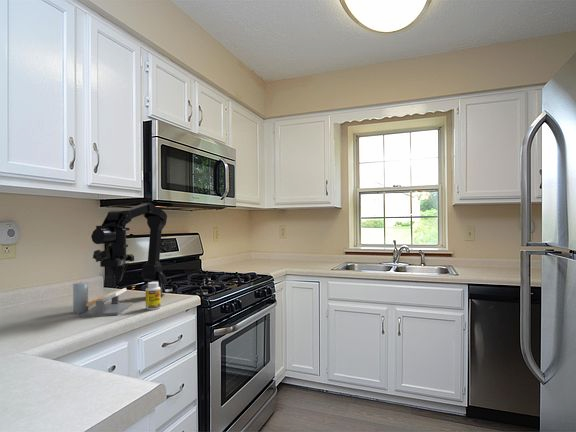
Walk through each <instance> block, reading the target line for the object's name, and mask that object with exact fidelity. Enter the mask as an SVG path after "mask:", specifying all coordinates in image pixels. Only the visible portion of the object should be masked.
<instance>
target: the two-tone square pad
mask: <svg viewBox="0 0 576 432" xmlns="http://www.w3.org/2000/svg"><path fill="white" fill-rule="evenodd" d="M125 292H127V287H124V288H121V289H118V290H115V291H112V292H110V293H107V294H103V295H101V296H98V297H97V298H95V299H92V300H91V301H88V303H86V306H87V307H88V308H89V307H90V306H93V305H96V301H97V300H104V303H106V302H108V301H111V300H112V298H113V297H116V296H118V295H122V294H124V293H125Z"/></svg>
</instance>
